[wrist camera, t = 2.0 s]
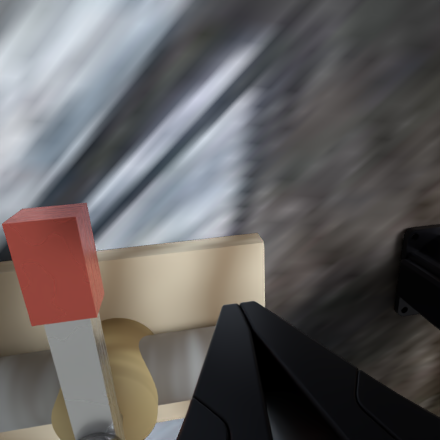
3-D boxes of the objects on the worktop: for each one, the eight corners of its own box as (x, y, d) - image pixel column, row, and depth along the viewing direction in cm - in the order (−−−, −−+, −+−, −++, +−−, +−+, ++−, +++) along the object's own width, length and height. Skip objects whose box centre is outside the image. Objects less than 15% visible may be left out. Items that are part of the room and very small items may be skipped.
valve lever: (132, 433, 16) (128, 478, 14) (85, 442, 16) (74, 489, 14) (87, 201, 12) (72, 220, 10) (23, 208, 12) (-5, 228, 10)
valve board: (257, 232, 21) (291, 280, 15) (260, 386, 25) (288, 468, 19) (-67, 269, 18) (-166, 340, 13) (-5, 431, 22) (-60, 539, 17)
